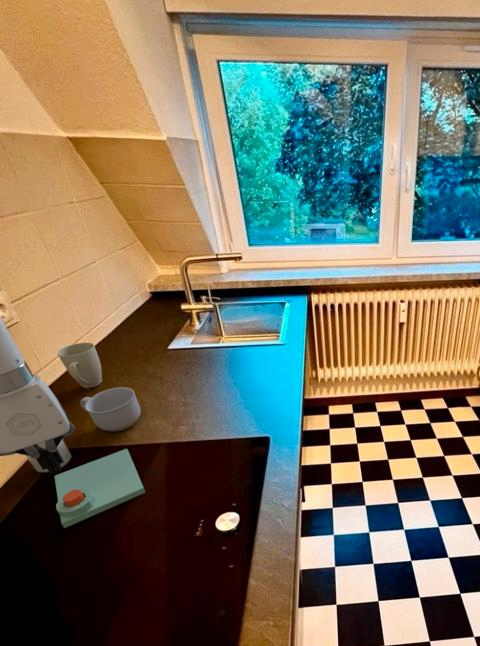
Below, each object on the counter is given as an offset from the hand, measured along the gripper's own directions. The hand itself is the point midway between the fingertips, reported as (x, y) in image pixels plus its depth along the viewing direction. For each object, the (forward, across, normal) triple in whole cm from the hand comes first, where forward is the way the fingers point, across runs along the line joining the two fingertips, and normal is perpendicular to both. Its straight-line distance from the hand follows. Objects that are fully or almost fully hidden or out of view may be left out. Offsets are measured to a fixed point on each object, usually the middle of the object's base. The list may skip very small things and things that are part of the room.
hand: (55, 468), depth 69 cm
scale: (+11, +4, +5) cm, 13 cm away
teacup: (+11, +11, +28) cm, 32 cm away
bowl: (+11, -3, +20) cm, 23 cm away
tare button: (+8, 0, 0) cm, 8 cm away
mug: (+11, +9, +54) cm, 56 cm away
